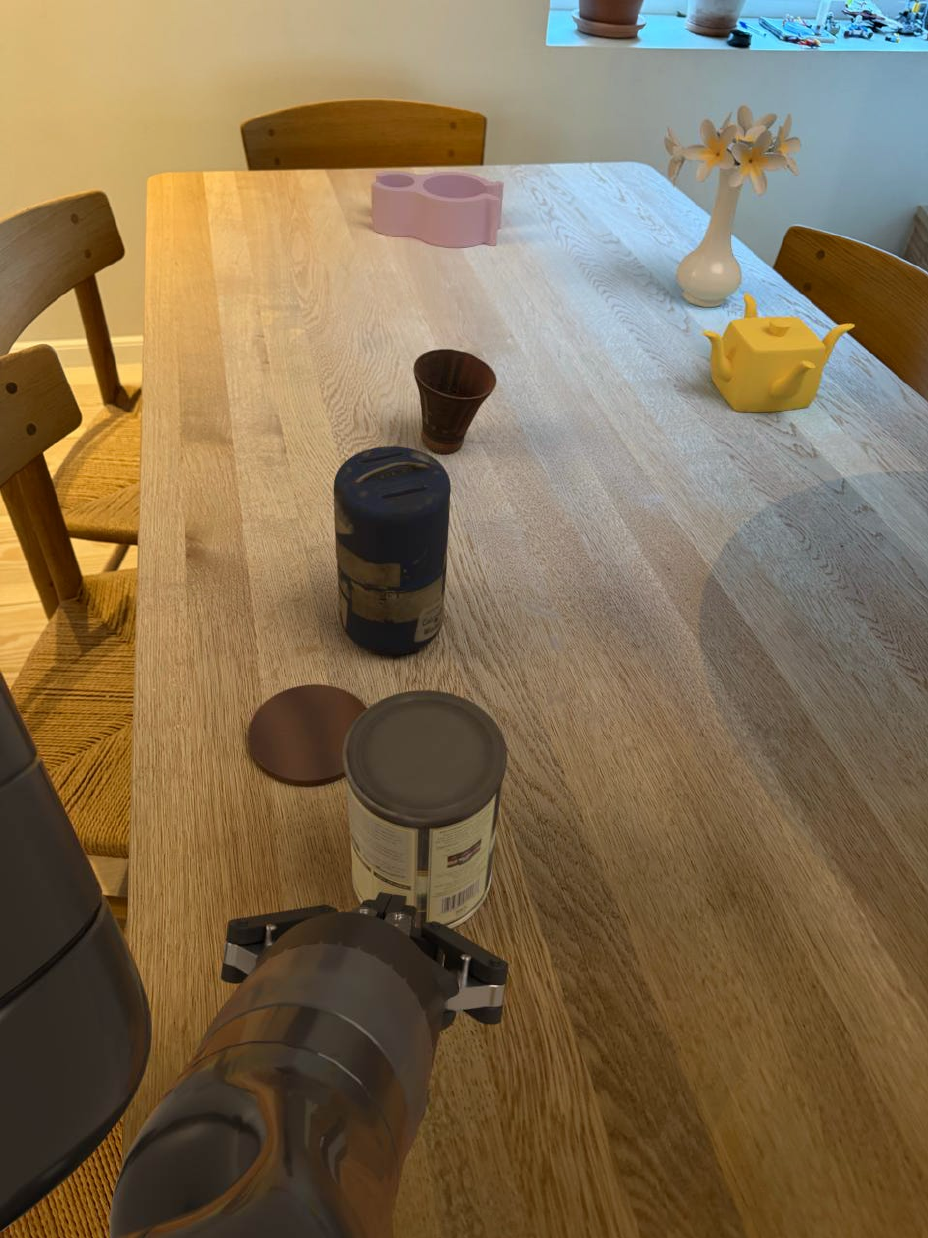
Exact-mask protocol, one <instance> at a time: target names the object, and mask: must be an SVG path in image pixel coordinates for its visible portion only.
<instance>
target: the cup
mask: <svg viewBox="0 0 928 1238" xmlns="http://www.w3.org/2000/svg"><path fill="white" fill-rule="evenodd" d="M412 369H413V376H414V380H415V383H416V386H417V389H418V395H419V401H420V402H419V403H420V410H421V411H420V412H421V434H420V438H421V442H422V443H423V445H424V446H425V447H426V448H427V449H428V450H430V451H432V452H435V453H439V454H443V455H445V454H446V455H447V454H454V453H456V452H458V451H460V450H461V449H462V448H463V445H464V442H465V441H464V440H465V437H466V435H467V433H468V430H469V428H470V427H471V424H472V423H473V420H474V418H475V417H476V415H477V413H478V411H479V409H480V408H481V406H482V405H483V403H484V402H485V401H486V400H487V399H488V398H489V396H490V395H492V393H493V391H494V389H495V388H496V385H497V377H496V376H497V375H496V373H495V371H494V370H493V369H492V367H491V366H490V365H489V364H488V363H487V362H485V361H484V360H482V359H480V358H479V357H477V356H476V355H474V354H472V353H470V352H466V351H462V350H457V349H452V348H439V349H433V350H429V351H426V352H423V353H422V354H421V355H419V356H418V357H416V359H415V361H414V363H413V367H412Z"/></svg>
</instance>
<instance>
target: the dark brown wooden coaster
mask: <svg viewBox="0 0 928 1238" xmlns="http://www.w3.org/2000/svg"><path fill="white" fill-rule="evenodd" d="M367 708H368V707H367V706H366V705H365V703H363V702H362V701H361V700H360V699H359V698H358V697H357V696H355V695H354V694H352V693H351V692H349V691H347V690H346V689H342V688H340V687H337V686H333V685H329V684H328V685H327V684H320V683H319V684H318V683H317V684H316V683H314V684H311V683H310V684H303V685H297V686H294V687H289V688H287V689H285V690H283V691H280V692H278V693H277V694H274V695H272V696H271V697H269V699H268V700H266V701H265V702H263V704H262V705H261V706H260V707H259V708H258V709H257V711H256V712H255V714H254V715H253V717H252V719H251V721H250V724H249V728H248V734H247V735H248V736H247V737H248V747H249V751H250V753H251V757H252V758H253V761H254V762H255V764H256V765H257V767H258V768H259V769H260V770H261V771H262V772H263V773H265V774H266V775H267V776H268V777H271V778H272V779H274V780H276V781H278V782H281V783H283V784H287V785H290V786H296V787H317V786H325V785H328V784H331V783H335V782H337V781H339V780H342V779H343V778H346V775H345V771H344V766H343V758H342V755H343V746H344V742H345V738H346V736H347V733H348V731H349V729H350V728H351V726H352V724H353V723H354V721H355V720H356V719H357V718H358V717H359V716H360V715H361V714H362V713H363V712H364V711H365V710H366V709H367Z"/></svg>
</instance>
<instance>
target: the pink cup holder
mask: <svg viewBox="0 0 928 1238" xmlns="http://www.w3.org/2000/svg"><path fill="white" fill-rule="evenodd" d="M504 184H505V183H504V182H503V181H499V180H497V181H490V180H488V179H486V178H485V177H482V176H479V175H476V174H472V173H467V172H459V171H438V172H431V173H426V174H425V173H423V174H419V173H418V174H417V173H411V172H407V171H402V170H401V171H400V170H389V171H382V172H378V173H375V181H372V182H371V183H370V186H371V187H370V192H371V194H370V196H371V229H372V231H374V232H375V233H378V234H380V235H384V236H389V237H409V238H410V237H411V238H416V239H418V240H421V241H422V242H424V243H426V244H430V245H433V246H438V247H442V248H453V249H461V248H470V247H475V246H479V245H481V244H485V245H488V246H491V247H493V246H496V245H497V243H498V242H497V241H498V240H497V239H498V230H500V229H501V226H502V225H501V223H502V211H503V210H502V209H503V197H504Z"/></svg>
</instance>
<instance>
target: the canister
mask: <svg viewBox="0 0 928 1238" xmlns="http://www.w3.org/2000/svg"><path fill="white" fill-rule="evenodd" d="M451 486H452V485H451V479H450V477H449V473H448V472H447V470H446V468H445V467H444V465H443V464H442V463H441V462H439V461H438V460H437V459H436V458H435V457H433V456H431V454H428V453H426V452H424V451H422V450H418V449H415V448H411V447H407V446H400V445H398V446H397V445H389V446H376V447H372V448H368V449H365V450H361V451H360V452H357V453H356V454H353V455H352V456H350V457H349V458H348V459H346V460H345V461H344V462H343V463H342V464H341V466H340V467H339V469H338V470H337V472H336V473H335V477H334V481H333V510H334V511H333V518H334V534H335V536H334V537H335V542H334V543H335V556H336V570H337V588H338V589H337V590H338V591H337V592H338V609H339V610H338V611H339V620H340V625H341V627H342V630H343V631H344V633H345V634H346V636H347V637H348V638H349V640H351V641H352V642H353V643H354V644H356V645H357V646H359V647H360V648H362V649H364V650H366V651H369V652H372V653H375V654H379V655H387V656H388V655H389V656H396V655H397V656H399V655H406V654H410V653H413V652H416V651H418V650H421V649H423V648H425V647H426V646H427V645H428V644H430V643H432V641H433V640H434V639H435V638H436V637H437V636H438V635H439V632H440V631H441V628H442V626H443V622H444V615H445V614H444V613H445V612H444V611H445V610H444V603H445V592H446V579H447V567H448V546H449V545H448V544H449V527H450V509H451V493H452V487H451Z"/></svg>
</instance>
